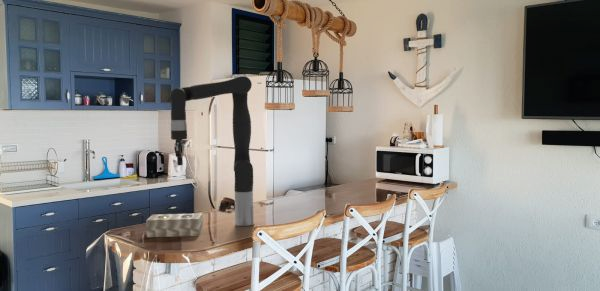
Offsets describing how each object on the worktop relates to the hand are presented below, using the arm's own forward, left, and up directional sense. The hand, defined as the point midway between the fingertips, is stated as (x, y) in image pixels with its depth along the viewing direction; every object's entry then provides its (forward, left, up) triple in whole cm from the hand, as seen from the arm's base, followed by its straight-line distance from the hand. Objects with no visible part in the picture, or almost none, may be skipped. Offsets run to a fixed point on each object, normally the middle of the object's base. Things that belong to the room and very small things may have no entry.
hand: (180, 165), depth 232 cm
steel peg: (-3, +6, -32) cm, 33 cm away
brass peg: (+8, +6, -32) cm, 34 cm away
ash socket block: (+2, +6, -32) cm, 33 cm away
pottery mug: (-18, -46, -32) cm, 59 cm away
